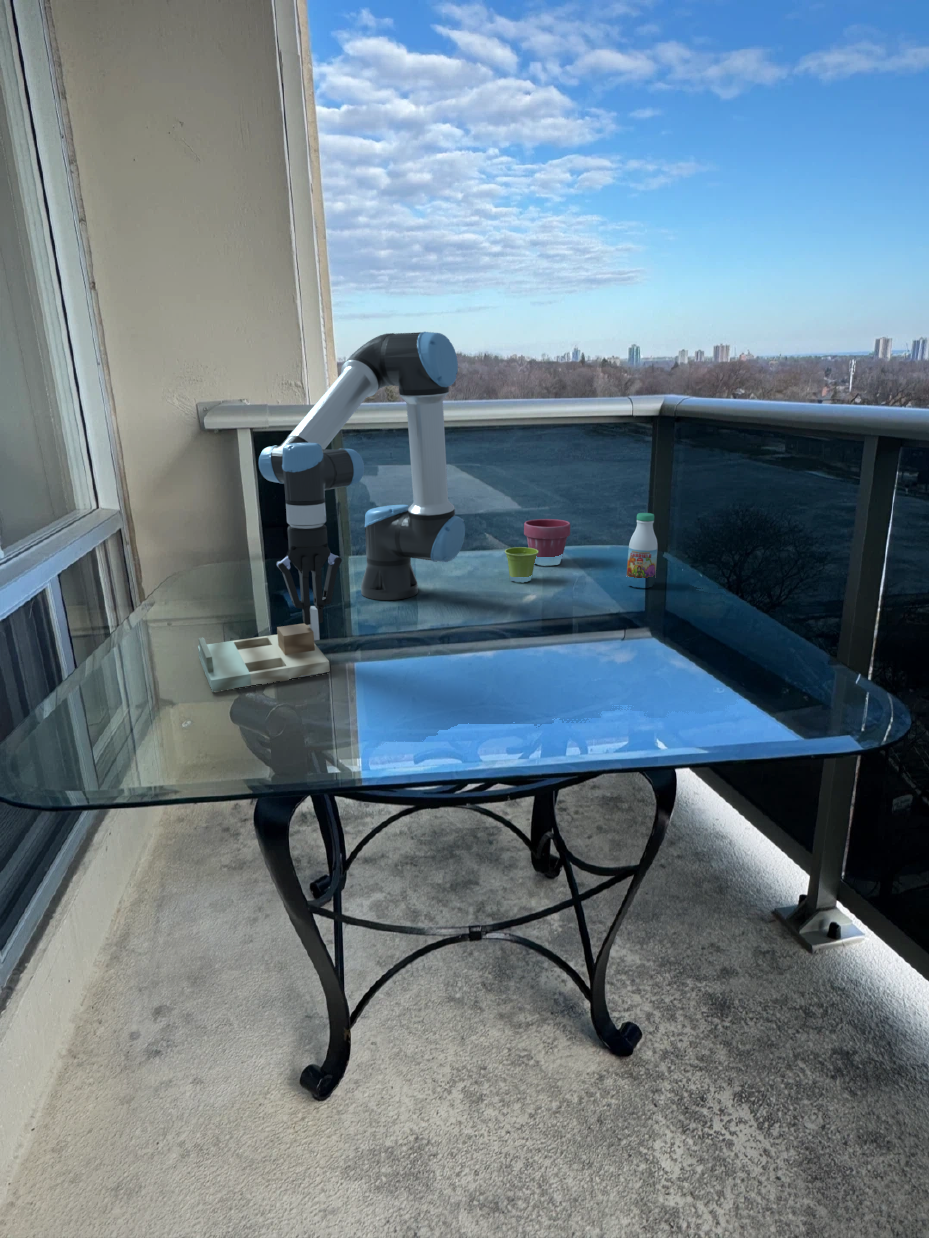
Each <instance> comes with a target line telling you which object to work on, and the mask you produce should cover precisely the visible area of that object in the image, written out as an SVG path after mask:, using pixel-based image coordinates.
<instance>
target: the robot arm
mask: <svg viewBox="0 0 929 1238" xmlns="http://www.w3.org/2000/svg"><path fill="white" fill-rule="evenodd" d="M458 370H459V364H458V356H457V352H456V349H455V347H454V344H452V342H451V341H450V339H449V338H448V337H447V336H446V335H445V334H443V333H440V332H434V331H433V332H431V331H422V332H421V331H420V332H403V333H402V332H400V333H399V332H398V333H395V332H392V333H384V334H380V335H377V336H376V337H372V338H371V339H370V340H368V341H367V342H366V343H364V344H362V345H361V346H360V347H359V348H358V349H357V350H355V351H354V352H353V353H352V354H351V355H350V356H349V357H348V358H347V360H346V361H345V362H344V363H343V364H342V366H341V368H340V375H339V376H338V377H337V378H336V380H335V381H334V382H333V383H332V384H331V386H329V388H327V390H326V391H325V393H324V394H323V395H322V396H321V397H320V398H319V400H317V402H316V403H315V404H314V406H312V408H311V409H310V410H309V411H308V413H307V414H305V416H304V417H303V418H302V420H300V422H299V423H298V424H297V425H296V427H295V428H294V429H293V430H292V431H291V432H290V434H288V435H287V437H286V439H285V440H284V441H283V442H282V443H281V444H280V445H272V446H270V445H269V446H267V447H265V448H263V449H262V451H261V453H260V455H259V457H258V469H259V471H260V474H261V476H262V477H263V478H264V479H266V480H267V481H269V482H273V483H279V484H282V485H284V494H285V497H284V498H285V499H284V500H285V509H286V510H285V511H286V513H285V514H286V523H287V524H288V526H287V527H286V528H287V539H288V541H287V542H288V548H287V552H286V556H285V557H284V558H283V559H282V560H278V561H276V562H275V566H276V567H277V568H278V569H279V570H280V571H281V572H282V573H281V574H282V576H283V579H284V582H285V585H286V588H287V591H288V594H289V597H290V600H291V603H292V605H293V606H294V607H295V608H296V609H302V621H303V623H305V624H306V625H308V626H309V627H310V628H311V629H312V631H313V632H314V642H315V641H320V624H321V623H322V624H323V622H324V611H323V610H324V608H325V606H327V605H330V604H331V603H332V600H333V594H334V590H335V584H336V577H337V574H338V569H339V567H340V566H341V564H342V561H343V559H342V558H341V557H340V556H339V555H337V554H333V553H331V550H330V547H329V545H328V530H327V529H328V527H327V526H326V524H325V523H326V522H327V511H326V497H325V494H326V492H325V491H329V490H333V489H339V488H348V487H350V486H353V485H355V484H358V483H359V482H360V481H361V480H362V479H363V476H364V473H365V464H364V460H363V457H362V456H361V454H360V453H359V452H357V451H356V450H355V449H352V448H343V447H342V448H341V447H340V448H338V449H329V448H328V449H326V448H327V447H328V446H329V445H330V443H331V442H333V439H334V438H335V437H336V436H337V435H338V434H339V433H340V431H341V430H342V429H343V427H345V425H346V423H347V422H348V421H349V420H350V419H351V417H352V416H353V414H354V413H355V412H356V411H357V410H358V409H359V408H360V406H361V405H362V403H363V402H364V401H365V399H366V398H369V397H372V396H374V395H375V394H376V393H378V391H379V390H381V389H382V388H384V387H389V386H395V387H398V391H399V392H398V393H399V394H398V395H399V397H400V398H401V399H402V400H404V401H405V402H406V412H407V413H406V415H407V416H406V418H407V428H408V442H409V443H408V444H409V459H410V470H411V471H410V472H411V485H412V497H413V498H412V499H413V500H412V501H413V502H412V504H411V505H410V506H409V505H408V504H394V505H393V504H391V505H384V506H378V507H373V508H370V509H368V510H367V511H366V512H365V514H364V515H365V517H364V531H365V532H364V534H365V535H364V537H365V554H366V567H365V571H364V574H363V577H362V580H361V585H360V593H361V595H362V596H363V597H365V598H367V599H371V600H379V601H395V600H396V601H397V600H403V599H408V598H411V597H414V596H416V595H417V594H418V593H419V584H418V581H417V578H416V575H415V572H414V568H413V566H412V559H416V560H417V559H418V560H423V561H424V560H425V561H431V562H434V563H437V562H439V563H440V562H441V563H442V562H444V563H448V562H451V561H452V560H454V559H456V557H457V556H458V555H459V554H460V553H459V552H460V551H461V550H462V547H463V544H464V541H465V534H466V525H465V521H464V520H463V518H462V517H460V516H458V515H456V512H455V511H456V509H455V505H454V504H453V503H452V502H450V500H449V493H448V492H449V491H448V490H449V489H448V475H447V474H448V473H447V454H446V453H447V452H446V434H445V418H444V417H445V416H444V415H445V413H444V399H446V397H447V396H448V395H449V394H450V390H449V387H450V386H452V385H453V384H454V383H455V382H456V379H457V374H458V373H459V372H458ZM326 562H327V564H328V565H327V571H326V576H325V577H326V578H325V582H324V587H323V585H322V568H323V567H324V565H325V564H326ZM290 563H292V565H293V566H294V567H295V568H296V569H297V570H298V575H299V587H300V588H299V589H300V597H299V593H298V591H297V589H296V585H295V583H294V579H293V576H292V575H293V574H291V571H290V570H291V564H290ZM309 572H311V577H312V591H313V592H312V593H313V604H314V605H311V599H310V598H311V597H310V595H311V594H310V584H309V583H310V582H309V581H310V580H309V578H310V573H309Z"/></svg>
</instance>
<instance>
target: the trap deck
mask: <svg viewBox="0 0 929 1238" xmlns="http://www.w3.org/2000/svg"><path fill="white" fill-rule="evenodd" d="M197 640H198V645H197V652H198V658H199V661H200V663H201V667H202V669H203V672H204V674H205V677H206V679H207V680H206V681H207V682H208V684H209V685H208V686H209V688H210V687H211V688H210V690H211V689H212V690H211V693H212V692H214V691H221V690H227V689H232V688H235V687H243V686H246V685H256V684H262V685H267V683H268V684H274V683H277V682H276V681H280V682H285V681H290V680H289V679H291V678H295V677H299V676H301V675H311V674H318V673H324V672H329V671H330V672H331V670H330V661H329V659H328V658H327V657H326V656H325V655H324V653H323V652H322V651H321V649H320V648H319V647H318V646H317V645H316V643H314V647H315V650H314V651H308V652H301V653H295V654H289V655H285V654H284V653H283V651H282V650H281V649H280V647H279V646H278V634H271V635H264V636H256V637H251V638H244V639H236V640H228V641H222V642H216V643H208V644H207V642H206V638H204V637H198V639H197ZM273 682H274V683H273ZM256 686H257V685H256ZM227 691H228V690H227ZM221 692H222V691H221Z"/></svg>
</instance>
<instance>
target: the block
mask: <svg viewBox="0 0 929 1238" xmlns="http://www.w3.org/2000/svg"><path fill="white" fill-rule="evenodd" d="M276 633H277V634H278V646H279V647H280V649H281V650H282V651H283V653H284V654H285V655H289V654H295V653H301V652H308V651H314V650H315V647H314V644H315V641H314V632H313V631H312V629H311V628H310V627H309V626H308V625H306V624H305V623H304V622H303V623H298V624H289V625H284V626H283V625H282V626H277V627H276ZM277 634H276V635H277Z"/></svg>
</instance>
